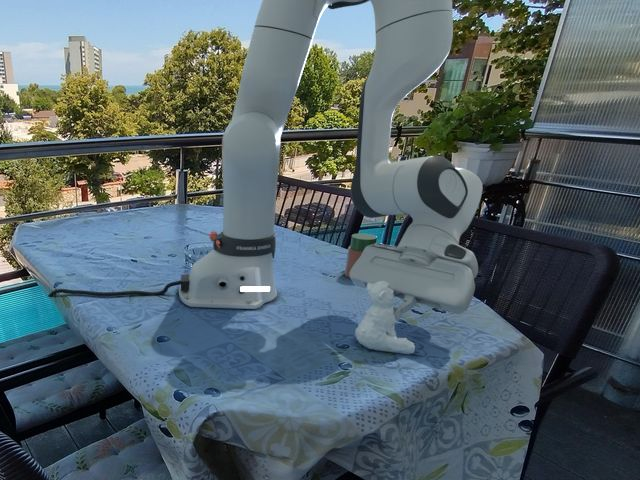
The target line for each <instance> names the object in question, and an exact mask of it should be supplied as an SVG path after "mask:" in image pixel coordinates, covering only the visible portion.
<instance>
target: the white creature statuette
mask: <svg viewBox="0 0 640 480" xmlns="http://www.w3.org/2000/svg"><path fill="white" fill-rule="evenodd" d="M365 289H366V291H367V296H368V300H369V301H370V303H371V305H370V307H369V308H367V310H366V311H365V315H364V317H363V319H361V321H360V323H359V324H358V326H357V327H356V328H355V329H354V332H355V333H354V336H355V337H356V338H355V339H356V341H357V342H358V343H359V344H360V345H361V346H363V347H364V348H367V349H369V350H374V351H381V352H387V353H394V354H402V355H412V354H414V353H415V351H416V345H415V343H414V342H413V341H411V340H408V338H407V337H398V335H397V332H396V330H395V328H396V326H395V325H396V323H397V321H396V319H395V315H394V310H393V309H394V308H393V307H394V304H395V303H396V300H395V297H394V294H393V292H394V291H393V290H392V289H391V288H390V286H389V283H388V282H386V281H378V282H377V283H374V284H372V283H368V284H367V287H366V288H365Z"/></svg>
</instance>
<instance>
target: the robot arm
mask: <svg viewBox="0 0 640 480" xmlns="http://www.w3.org/2000/svg"><path fill="white" fill-rule="evenodd" d="M368 2H370V3H371V5H372V8H373V14H374V28H375V47H374V55H373V60H372V64H371V68H370V71H369V73H368V75H367V76H366V78H365V80H364V82H363V84H362V87H361V92H360V97H359V108H358V111H359V112H358V123H357V136H356V138H357V139H356V151H355V152H356V153H355V165H354V171H353V175H352V179H351V184H350V189H349V190H350V191H349V192H350V199H351V202H352V204H353V206H354V207H355V209H356V210H357V211H358V213H360V214H361V215H362V216H364V217H366V218H369V219H374V218H381V217H389V216H402V215H403V216H404V215H409V216H410V217H411V219H412V222H411V223H410V224H409V225H408V227H407V228H406V230H405V232H404V233H403V235H402V237H401V239H400V240H399V243H398V244H397V245H391V244H384V243H382V242H376V243H375V244H372V245H369V246H367V247H365V249H364V251H363V252H362V254H361V256H360V258H359V259H358V260H357V261H356V263H355V264H354V266H353V267H352V269H351V270H350V272H349V275H350V278H349V279H350V280H351V282H352V284H353V285H354V286H356V287H360V288H363V289H366V287H367V284H368V283H372V284H374V283H377V282H378V281H386V282H388V283H389V286H390V288H391V289H392V290H393V291H394V292H393V294H394V298H399V299H402V300H403V301H404V302H402V303H401V304H400V305H398V306H397V307H395V306H393V308H394V309H393V310H394V315H395V319H396V322H399V321H400V320H401V318H402V316H403V314H405V313H407V312H408V311H411V310H412V309H414V308H415V306H416V304H420V305H423V306H426V307H431V308H434V309H438V310H440V311H445V312H448V313H452V314H455V315H461V314H463V313H465V312H466V311H467V310H468V309H469V306H470V305H471V302H472V299H473V297H474V294H475V290H476V283H475V279H476V278H477V276H478V274H479V265H478V260H477V257H476V255H475V253H474V252H473V251H472V250H470V249H468V248H466V247H463V246H461V245H460V239H461V236H462V235H463V234H464V233H465V232H466V231H467V229H468V228H469V226H470V225H471V223H472V221H473V219H474V217H475V215H476V214H477V213H476V212H477V210H478V208H479V205H480V202H481V199H482V195H483V182H482V180H481V179H480V177H479V176H478V175H477V174H475V173H474V172H473V171H471V170H468V169H466V168H462V167H456V166H455V165H454V164H453V163H452V162H451V161H450V160H449V159H447V158H446V157H444V156H441V155H430V156H429V155H427V156H421V157H415V158H414V157H413V158H409V159H405V160H399V161H398V160H397V161H390V159H389V154H390V143H391V133H392V132H391V131H392V121H393V116H394V113H395V110H396V109H397V107H398V106H399V104H400V103H401V102H402V100H404V99H405V97H406V96H408V95H409V94H410V93H411V92H412V91H413V90H415V89H416V88H417V87H419V86H420V85H422V84H423V83H424V82H426V81H427V80H428V79H429V78H430V77H432V76H433V74H435V73H436V72H437V70H438V69H439V68H440V67H441V66H442V64H443V63H444V62H445V61H446V59H447V57H448V56H449V53H450V51H451V47H452V43H453V36H454V19H453V18H454V15H453V0H262V2H261V4H260V7H259V9H258V13H257V16H256V19H255V23H254V26H253V31H252V33H251V37H250V41H249V46H248V49H247V53H246V57H245V60H244V64H243V67H242V72H241V76H240V81H239V85H238V91H237V95H236V99H235V104H234V108H233V111H232V117H231V120H230V122H229V124H228V125H227V126H226V128H225V130H224V132H223V135H222V139H221V167H222V169H221V171H222V172H221V173H222V193H223V197H222V198H223V201H222V202H223V205H222V206H223V207H222V231H221V232H220V233H217V231H211V232H210V233H209V235H208V238H209V239H210V241H211V242H212V245H213V246H212V247H213V249H211V250H210V251H209V252H208V253H206V254H204V256H202V257H200V259H198V260H196V261H195V262H193V264H192V266H191V267H190V270H189V273H188V274H181V275H180V276H181V277H180V280H176V281H171V282H169V283H167V284H165V286H164V288H163V289H162V290H159V291H144V290H126V291H125V290H124V291H110V292H109V291H108V292H107V291H91V290H84V289H83V290H81V289H68V288H57V289H54V290H52V291H51V292H49V294H48V296H47V297H48V298H51V297H54V296H55V295H56V294H61V293H62V294H71V295H87V296H96V297H118V296H121V297H122V296H134V295H135V296H136V295H137V296H150V297H151V296H162V295H164V294H166V293H167V292H168V290H169V289H170V288H171V287H175V286H179V287H178V296H179V299H180V301H181V302H182V303H183V304H185V305H186V306H188V307H191V308H209V309H211V308H212V309H213V308H214V309H239V310H240V309H244V310H258V309H260V308H261V307H262V306H264V304H266V303H269V302H272V301H273V300H275V299H276V298H277V296H278V289H277V286H276V280H275V271H274V270H275V269H274V258H275V254H276V247H277V238H276V235H277V234H276V233H275V223H276V207H277V193H278V182H279V181H278V179H279V168H280V167H279V166H280V152H281V138H282V136H283V135H282V134H283V131H284V128H285V125H286V122H287V121H288V120H287V119H288V116H289V113H290V111H291V108H292V105H293V102H294V99H295V96H296V93H297V90H298V88H299V85H300V81H301V79H302V75H303V71H304V70H305V69H304V68H305V66H306V62H307V59H308V56H309V53H310V50H311V47H312V43H313V40H314V37H315V34H316V30H317V26H318V24H319V21H320V19H321V17H322V14H323V13H324V11H325V10H326V9H329V10H337V9H341V8H346V7H354V6H359V5H363V4H367V3H368ZM372 246H374V247H372Z"/></svg>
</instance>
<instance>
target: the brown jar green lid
mask: <svg viewBox="0 0 640 480" xmlns="http://www.w3.org/2000/svg"><path fill="white" fill-rule="evenodd" d="M377 237H378V236H377V235H375V234H370V233H365V232H364V233H353V234H352V235H351V239H350V244H349V246H348V248H347V253H346V254H347V255H346V264H345V270H344V275H345V277H347V278H348V279H351V278H350V275H349V272H350V270H351V269H352V267H353V266H354V264H355V263H356V261H357V260H358V259H359V258H360V256H361V254H362V252H363V251H364V249H365V247H367V246H369V245H372V244H375V243H377V241H378V238H377ZM372 247H374V246H372Z"/></svg>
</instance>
